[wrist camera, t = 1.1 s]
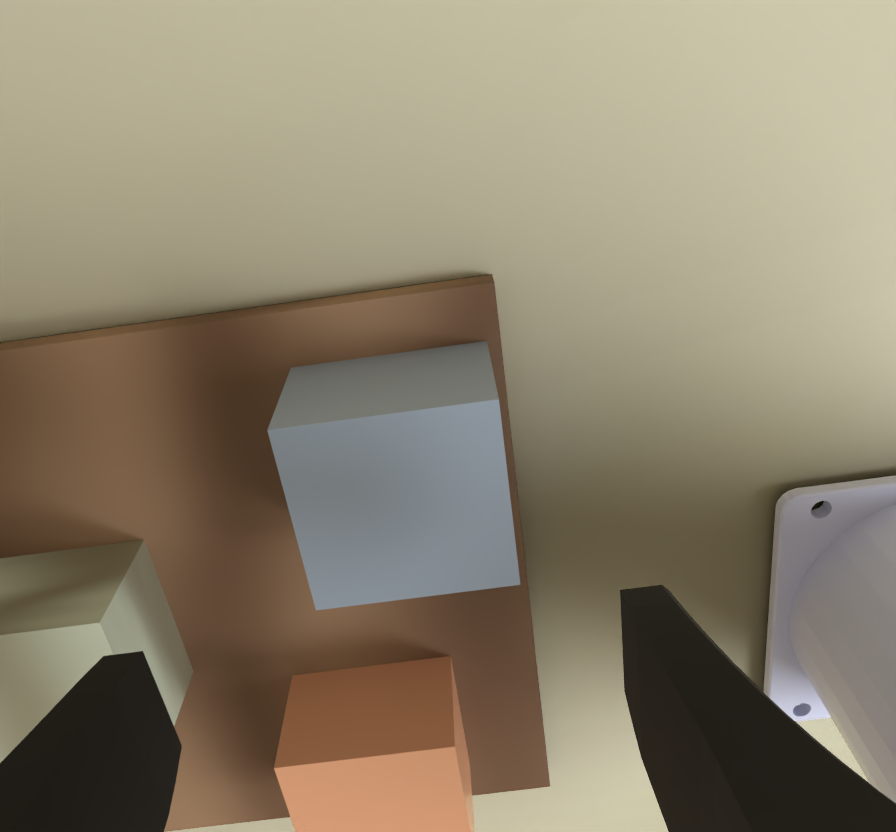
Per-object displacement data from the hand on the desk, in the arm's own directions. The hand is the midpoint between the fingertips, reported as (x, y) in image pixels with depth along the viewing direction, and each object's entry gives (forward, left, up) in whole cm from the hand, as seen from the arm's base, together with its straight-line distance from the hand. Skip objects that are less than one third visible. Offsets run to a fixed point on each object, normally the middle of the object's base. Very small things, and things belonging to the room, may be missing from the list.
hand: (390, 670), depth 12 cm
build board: (+5, +5, -8) cm, 10 cm away
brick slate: (0, 0, -7) cm, 7 cm away
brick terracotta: (+2, +9, -7) cm, 12 cm away
